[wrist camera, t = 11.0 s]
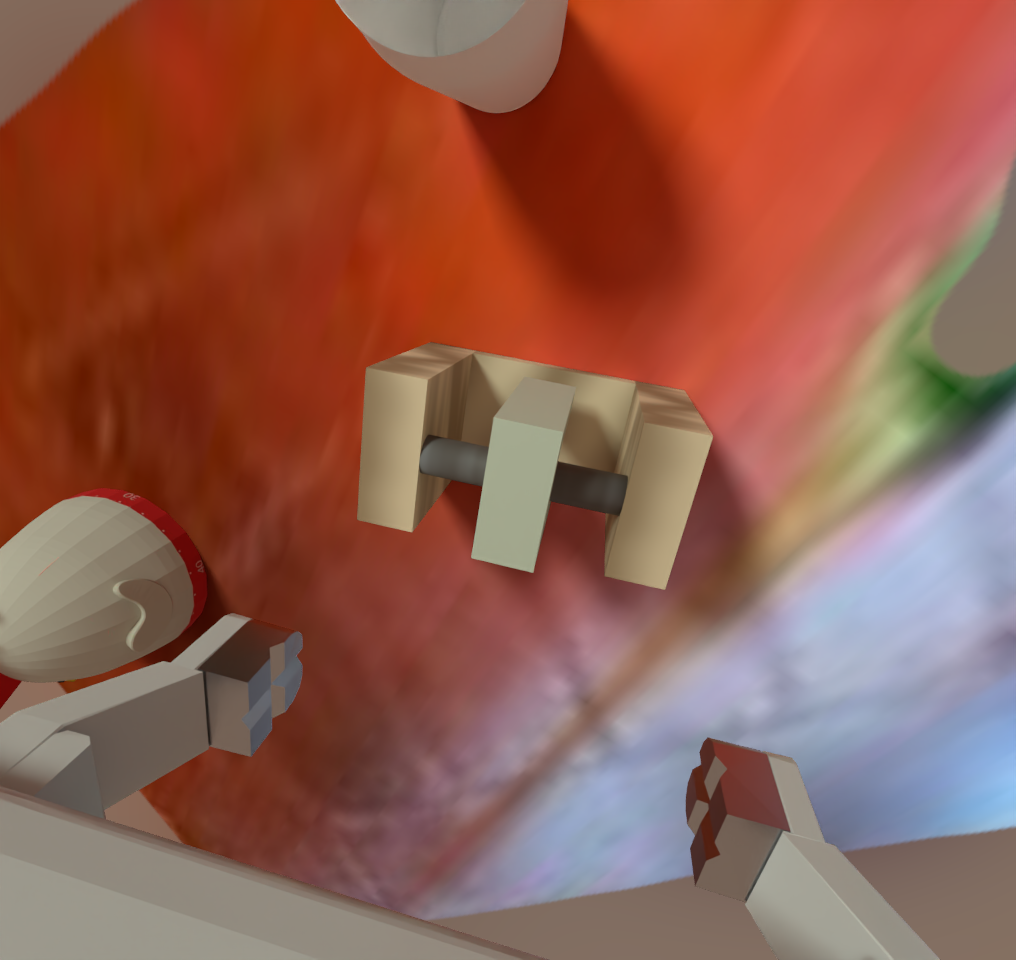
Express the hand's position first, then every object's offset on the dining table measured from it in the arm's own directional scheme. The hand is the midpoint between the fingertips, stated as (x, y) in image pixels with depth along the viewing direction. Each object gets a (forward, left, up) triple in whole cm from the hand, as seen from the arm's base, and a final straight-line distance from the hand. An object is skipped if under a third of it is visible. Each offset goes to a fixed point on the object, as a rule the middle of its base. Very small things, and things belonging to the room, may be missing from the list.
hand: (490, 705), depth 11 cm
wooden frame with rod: (+2, +2, -26) cm, 26 cm away
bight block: (+2, +2, -23) cm, 23 cm away
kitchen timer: (+33, +21, -26) cm, 47 cm away
